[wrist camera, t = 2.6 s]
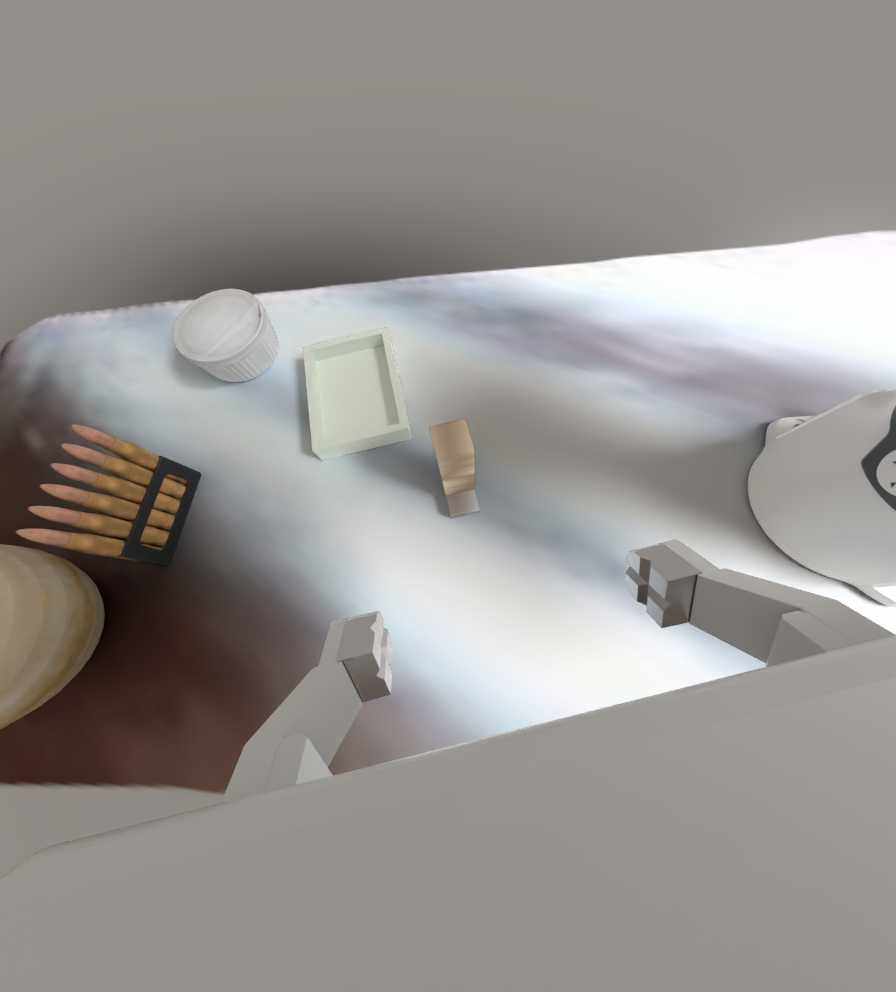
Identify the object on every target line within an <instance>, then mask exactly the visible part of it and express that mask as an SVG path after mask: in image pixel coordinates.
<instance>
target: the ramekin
mask: <svg viewBox="0 0 896 992" xmlns="http://www.w3.org/2000/svg"><path fill="white" fill-rule="evenodd" d="M173 342H174V345H175V347H176V349H177V351H178V352H179V353H180V354H181V355H182V356H183V357H184V358H185V359H187V360H188V361H189V362H191V363H193V364H195V365H198V366H199V367H201V368H202V369H204V370H205V371H207V372H209V373H210V374H212V375H213V376H215V377H216V378H218V379H221V380H224V381H228V382H244V381H249V380H252V379H254V378H256V377H258V376H260V375H262V374H263V373H264V372H266V371H267V370H268V369H269V368H270V367H271V365H272V364H273V363H274V361H275V359H276V357H277V353H278V347H279V345H278V343H279V342H278V337H277V335H276V333H275V331H274V329H273V327H272V325H271V323H270V321H269V319H268V317H267V313H266V310H265V308H264V307H263V305H262V304H261V302H260V301H259V300H258V299H257V298H256V297H255V296H254V295H252V294H250V293H248V292H246V291H243V290H237V289H224V290H218V291H214V292H211V293H208V294H206V295H204V296H202V297H200V298H198V299H197V300H195V301H194V302H192V303H191V304H190V305H189V306H188V307H187V308H186V309H185V310H184V311H183V312H182V313H181V314H180V315H179V317H178V318H177V320H176V322H175V324H174V328H173Z"/></svg>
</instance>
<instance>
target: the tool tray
mask: <svg viewBox="0 0 896 992" xmlns="http://www.w3.org/2000/svg"><path fill="white" fill-rule="evenodd" d="M303 356H304V367H305V378H306V388H307V399H308V410H309V421H310V431H311V442H312V451H313V452H314V453H315V454H316V455H317V456H318V457H319V458H320V459H321V460H322V461H323V460H327V459H331V458H335V457H339V456H343V455H348V454H352V453H356V452H360V451H364V450H368V449H373V448H377V447H381V446H385V445H389V444H394V443H398V442H402V441H406V440H410V439H412V434H411V430H410V425H409V420H408V416H407V411H406V406H405V402H404V397H403V392H402V388H401V383H400V378H399V374H398V369H397V364H396V360H395V355H394V350H393V346H392V341H391V338H390V335H389V332H388V329H387V327H385V328H381V329H377V330H372V331H368V332H364V333H360V334H356V335H351V336H347V337H343V338H339V339H335V340H331V341H326V342H322V343H318V344H314V345H310V346H305V347H303Z"/></svg>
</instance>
